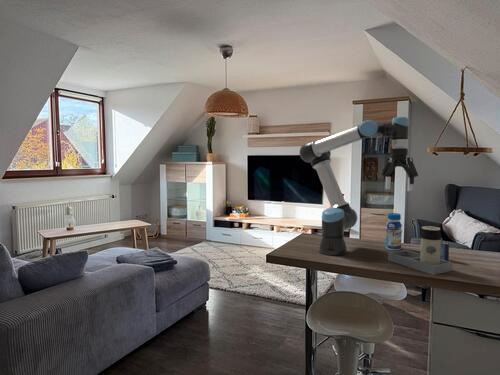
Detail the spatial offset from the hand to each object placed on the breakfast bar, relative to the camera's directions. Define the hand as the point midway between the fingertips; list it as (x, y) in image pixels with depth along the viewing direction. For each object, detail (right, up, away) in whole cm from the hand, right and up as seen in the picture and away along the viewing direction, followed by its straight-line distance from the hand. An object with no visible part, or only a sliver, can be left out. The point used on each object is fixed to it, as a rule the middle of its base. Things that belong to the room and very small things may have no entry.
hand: (398, 189), depth 168 cm
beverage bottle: (+5, -34, +18) cm, 39 cm away
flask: (+19, -35, -3) cm, 40 cm away
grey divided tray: (+4, -36, -12) cm, 38 cm away
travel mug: (+6, -35, -18) cm, 40 cm away
